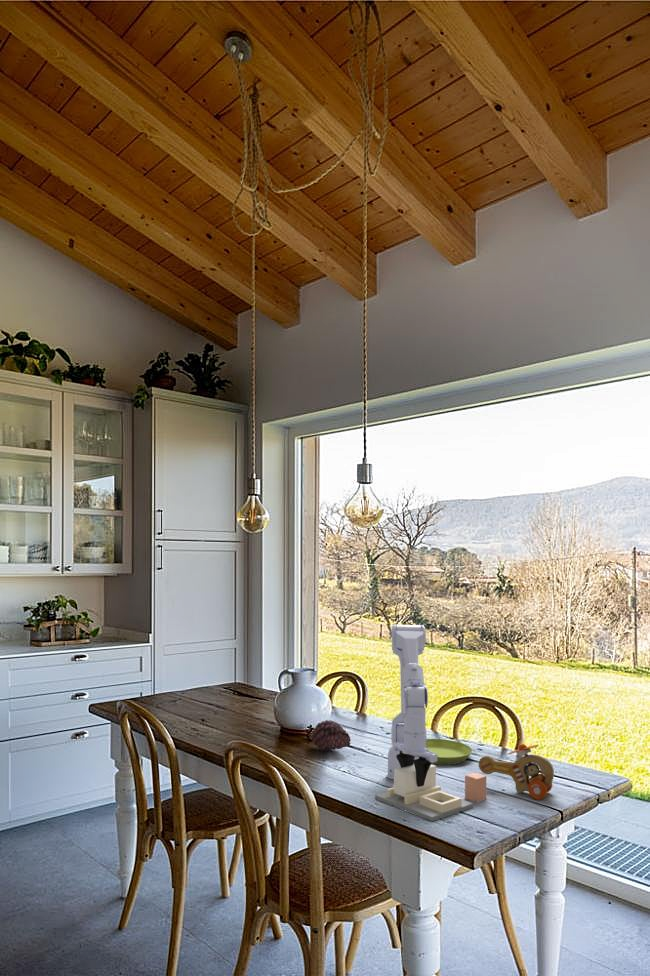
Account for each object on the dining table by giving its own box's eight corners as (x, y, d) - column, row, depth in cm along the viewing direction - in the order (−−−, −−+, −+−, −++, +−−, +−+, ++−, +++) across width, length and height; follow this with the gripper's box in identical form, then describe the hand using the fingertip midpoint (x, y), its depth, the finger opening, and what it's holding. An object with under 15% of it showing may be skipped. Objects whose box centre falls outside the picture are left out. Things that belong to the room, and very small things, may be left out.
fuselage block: (393, 792, 198) (394, 769, 199) (424, 784, 206) (424, 762, 206) (404, 797, 195) (405, 773, 195) (435, 788, 203) (435, 765, 203)
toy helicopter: (549, 802, 200) (549, 749, 201) (474, 788, 210) (474, 738, 211) (556, 793, 207) (556, 743, 208) (483, 780, 217) (483, 732, 218)
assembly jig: (375, 798, 200) (375, 787, 200) (416, 786, 210) (416, 776, 210) (431, 821, 185) (432, 808, 185) (473, 807, 195) (473, 795, 195)
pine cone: (359, 755, 240) (359, 723, 241) (336, 761, 233) (337, 728, 234) (323, 743, 253) (323, 713, 254) (300, 748, 247) (300, 717, 247)
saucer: (397, 760, 236) (397, 750, 236) (419, 745, 254) (419, 735, 254) (462, 771, 227) (462, 760, 227) (479, 754, 245) (479, 744, 245)
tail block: (464, 798, 202) (465, 775, 202) (474, 794, 205) (474, 772, 205) (476, 802, 199) (476, 779, 199) (486, 799, 202) (486, 776, 202)
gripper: (384, 728, 204) (384, 779, 203) (424, 739, 193) (424, 793, 192) (402, 724, 209) (402, 774, 208) (442, 735, 198) (442, 788, 197)
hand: (414, 783), depth 200 cm, fingers closed on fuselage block, 4 cm apart
